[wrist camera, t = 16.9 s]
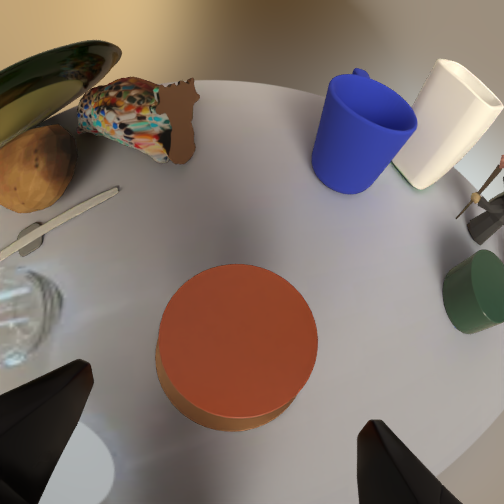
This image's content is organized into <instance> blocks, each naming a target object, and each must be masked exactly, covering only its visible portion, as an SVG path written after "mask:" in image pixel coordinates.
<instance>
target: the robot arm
mask: <svg viewBox="0 0 504 504" xmlns="http://www.w3.org/2000/svg"><path fill="white" fill-rule="evenodd" d="M93 384H94V379H93V374H92V369H91V365H90V363H89V362H87V361H84V360H82V359H77V360H74V361H72V362H70V363H68V364H66V365H64V366H62V367H60V368H58V369H55V370H53V371H51V372H49V373H47V374H45V375H43V376H41V377H38V378H36V379H34V380H32V381H30V382H28V383H26V384H23V385H21V386H19V387H17V388H15V389H13V390H10V391H8V392H6V393H4V394H2V395H0V504H38V503H39V501H40V498H41V496H42V494H43V492H44V490H45V487H46V485H47V483H48V481H49V479H50V477H51V475H52V472H53V471H54V468H55V466H56V464H57V462H58V460H59V458H60V456H61V454H62V452H63V450H64V448H65V446H66V445H67V443H68V441H69V439H70V437H71V435H72V433H73V431H74V429H75V427H76V426H77V424H78V422H79V419H80V417H81V414H82V412H83V409H84V407H85V404H86V402H87V399H88V397H89V394H90V392H91V389H92V387H93ZM357 484H358V495H359V504H462V503H461V502H460V501H459V500H458V499H457V498H455V496H454V495H453V494H451V493H450V492H449V491H448V490H447V489H446V488H445V487H444V485H442V484H441V482H440V481H438V479H437V478H436V477H435V476H434V475H433V474H432V473H431V472H430V471H429V470H428V469H427V468H426V467H425V466H424V465H423V464H422V462H421V461H420V460H419V459H418V458H417V457H416V456H415V455H414V454H413V453H412V452H411V451H410V450H409V449H408V448H407V447H406V446H405V444H404V443H403V442H402V441H401V440H400V439H399V438H398V437H397V436H396V435H395V434H394V433H393V432H392V431H391V429H390V428H389V427H388V426H387V425H386V424H385V423H384V422H383V421H382V420H369V421H368V422H367V423H366V425H365V426H364V427H363V429H362V430H361V431H360V433H359V434H358V437H357Z"/></svg>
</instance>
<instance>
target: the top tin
mask: <svg viewBox="0 0 504 504" xmlns="http://www.w3.org/2000/svg"><path fill="white" fill-rule="evenodd" d="M317 350H318V336H317V328H316V324H315V320H314V317H313V315H312V312H311V310H310V308H309V306H308V304H307V302H306V301H305V300H304V298H303V297H302V295H301V294H300V293H299V292H298V291H297V290H296V289H295V287H294V286H292V285H291V284H290V283H289V282H288V281H286V280H285V279H284V278H282V277H281V276H279V275H277V274H275V273H273V272H271V271H269V270H266V269H264V268H261V267H257V266H253V265H245V264H229V265H221V266H217V267H213V268H210V269H208V270H205V271H203V272H201V273H199V274H197V275H195V276H194V277H192V278H191V279H190V280H188V281H187V282H186V283H184V284H183V285H182V286H181V287H180V288H179V289H178V290H177V292H176V293H175V294H174V295H173V296H172V298H171V300H170V301H169V303H168V304H167V307H166V309H165V311H164V313H163V316H162V320H161V323H160V329H159V352H160V357H161V361H162V365H163V367H164V369H165V372H166V374H167V376H168V378H169V379H170V381H171V383H172V384H173V385H174V387H175V388H176V389H177V390H178V392H179V393H180V394H181V395H182V396H183V397H184V398H185V399H187V400H188V401H189V402H191V403H192V404H193V405H195V406H196V407H198V408H200V409H202V410H204V411H206V412H208V413H211V414H214V415H217V416H221V417H226V418H236V419H242V418H252V417H258V416H261V415H265V414H268V413H270V412H272V411H274V410H276V409H279V408H280V407H282V406H283V405H285V404H286V403H288V402H289V401H290V400H291V399H292V398H294V397H295V396H296V395H297V394H298V392H299V391H300V390H301V389H302V388H303V386H304V385H305V383H306V382H307V380H308V379H309V377H310V374H311V372H312V370H313V367H314V364H315V361H316V356H317Z"/></svg>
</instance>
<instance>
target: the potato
mask: <svg viewBox="0 0 504 504" xmlns="http://www.w3.org/2000/svg"><path fill="white" fill-rule="evenodd" d="M77 158H78V153H77V147H76V141H75V138H74V137H73V136H72V135H71V134H70V133H69V132H67V131H66V130H65V129H64V128H63V127H62V126H61V125H59V124H56V125H49V126H44V127H39V128H34V129H30V130H28V131H26V132H24V133H22V134H20V135H18V136H17V137H15V138H13V139H12V140H10V141H9V142H8V143H6V144H5V145H4V146H3V147H2V148H1V149H0V204H1V205H2V206H4V207H6V208H8V209H10V210H12V211H15V212H17V213H30V212H34V211H38V210H42V209H45V208H47V207H49V206H52V205H53V204H54V203H55V202H56V201H57V200H58V199H59V198H60V197H61V196H62V195H63V193H64V191H65V189H66V188H67V186H68V184H69V182H70V181H71V179H72V177H73V173H74V169H75V165H76V162H77Z"/></svg>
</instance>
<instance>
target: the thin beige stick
mask: <svg viewBox="0 0 504 504" xmlns="http://www.w3.org/2000/svg"><path fill="white" fill-rule="evenodd" d="M117 193H118V189H117V188H114V189H111V190H108V191H106V192H104V193H101V194H99V195H97V196H95V197H93V198H91V199H89V200H87V201H85V202H83V203H81V204H79V205H77V206H75V207H73V208H71V209H70V210H68V211H66V212H64V213H62V214H61V215H59V216H57V217H55V218H53V219H52V220H50V221H48V222H47V223H45V224H43V225H41V226H40V225H39V224H38V223H34V224H32V225H31V226H29V227H28V228H26V229H24V230H23V231H21V232H20V233H19V235H18V238H17V241H16V242H14V243H13V244H11V245H10V246H8V247H7V248H5V249H4V250H2V251H1V252H0V261H2V260H3V259H5V258H6V257H8V256H9V255H11V254H12V253H14V252H16V251H17V250H19V254H20V255H21V256H26V255H28V254H29V253H31V252H32V251H34V250H36V249H37V248H39V247H40V245H41V244H42V235H43V234H45V233H47V232H48V231H50V230H52V229H53V228H55V227H57V226H59V225H60V224H62V223H64V222H66V221H68V220H70V219H71V218H73V217H75V216H77V215H79V214H81V213H83V212H84V211H86V210H88V209H90V208H92V207H94V206H96V205H97V204H99V203H101V202H103V201H105V200H107V199H108V198H110V197H112V196H114V195H115V194H117Z"/></svg>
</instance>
